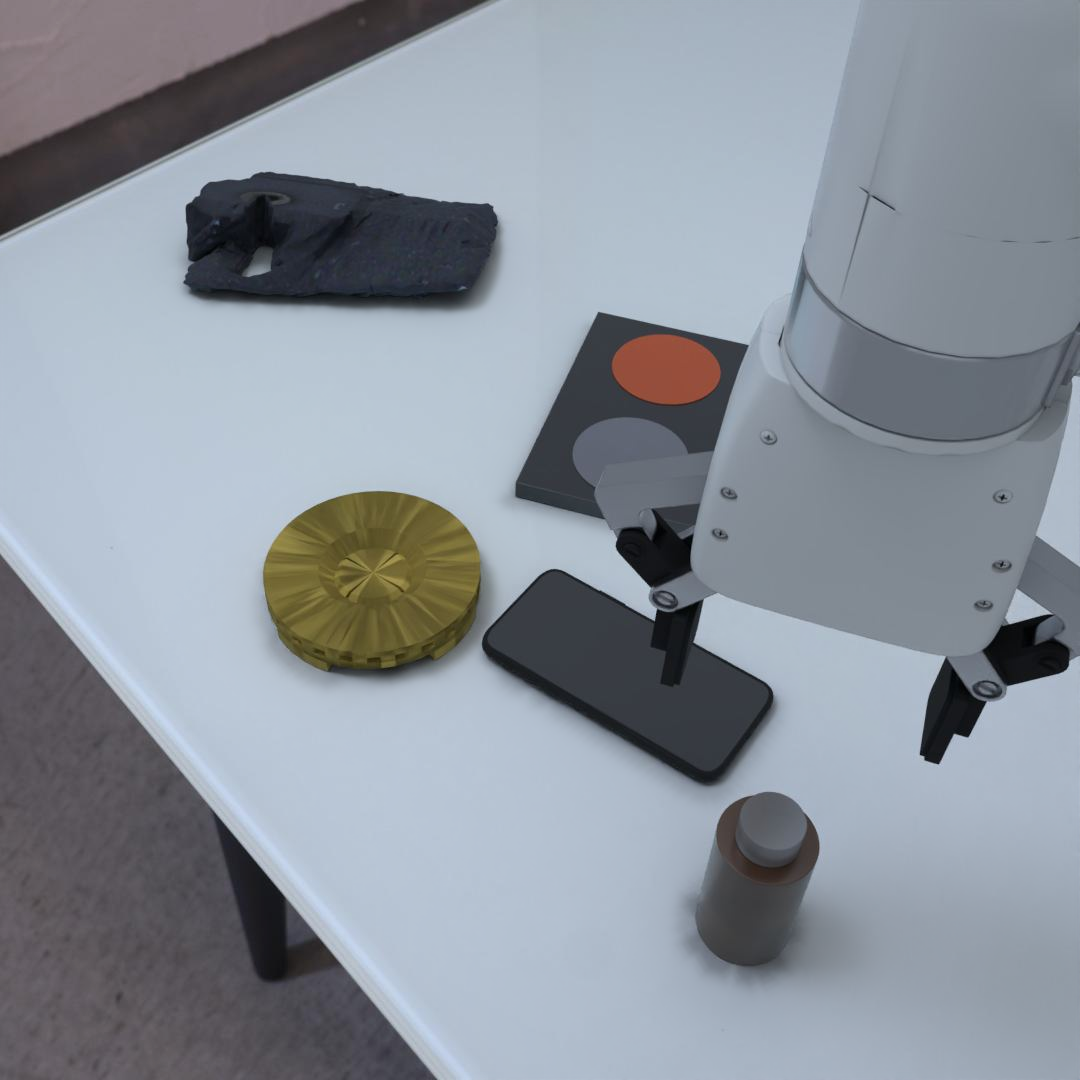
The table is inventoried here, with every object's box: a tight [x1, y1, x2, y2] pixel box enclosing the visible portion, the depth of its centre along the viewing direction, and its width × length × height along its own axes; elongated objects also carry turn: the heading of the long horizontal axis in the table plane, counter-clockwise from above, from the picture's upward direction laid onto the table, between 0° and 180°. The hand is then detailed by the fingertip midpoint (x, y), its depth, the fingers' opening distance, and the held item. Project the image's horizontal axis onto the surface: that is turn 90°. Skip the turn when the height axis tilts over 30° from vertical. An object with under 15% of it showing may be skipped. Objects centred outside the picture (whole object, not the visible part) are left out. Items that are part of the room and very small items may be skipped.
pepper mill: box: [695, 791, 821, 967], centre depth 58 cm, size 4×4×9 cm
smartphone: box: [481, 568, 774, 783], centre depth 70 cm, size 7×1×15 cm
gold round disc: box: [262, 490, 482, 672], centre depth 74 cm, size 12×12×2 cm
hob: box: [514, 311, 749, 534], centre depth 83 cm, size 24×18×1 cm
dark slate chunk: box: [182, 171, 499, 299], centre depth 95 cm, size 15×22×5 cm
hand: (803, 694), depth 49 cm, fingers open, 9 cm apart
